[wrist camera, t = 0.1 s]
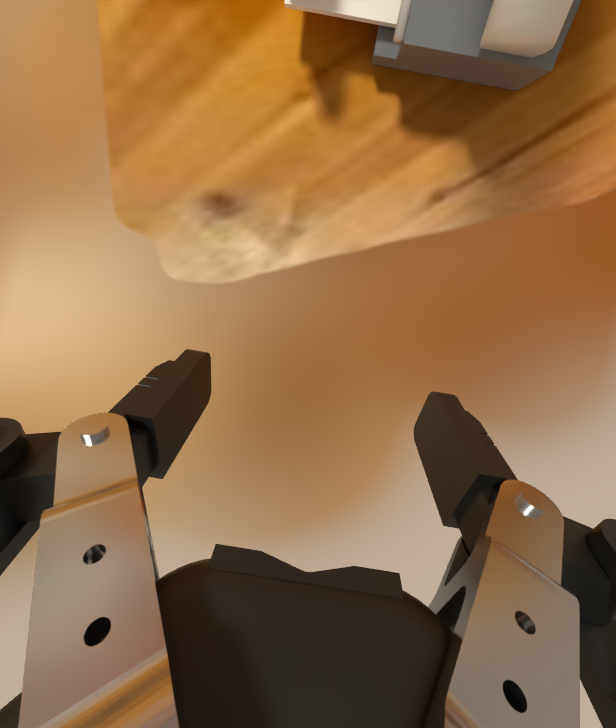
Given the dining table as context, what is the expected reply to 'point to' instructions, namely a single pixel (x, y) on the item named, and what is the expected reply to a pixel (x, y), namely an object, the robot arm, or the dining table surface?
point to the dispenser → (477, 39)
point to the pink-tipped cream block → (353, 9)
